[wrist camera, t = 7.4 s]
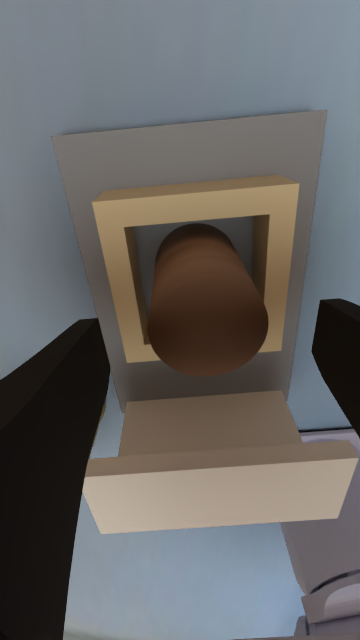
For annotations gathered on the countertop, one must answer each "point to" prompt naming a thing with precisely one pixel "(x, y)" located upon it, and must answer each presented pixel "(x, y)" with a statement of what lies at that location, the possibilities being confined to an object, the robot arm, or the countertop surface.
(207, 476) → the socket stand
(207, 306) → the peg
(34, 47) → the countertop surface
